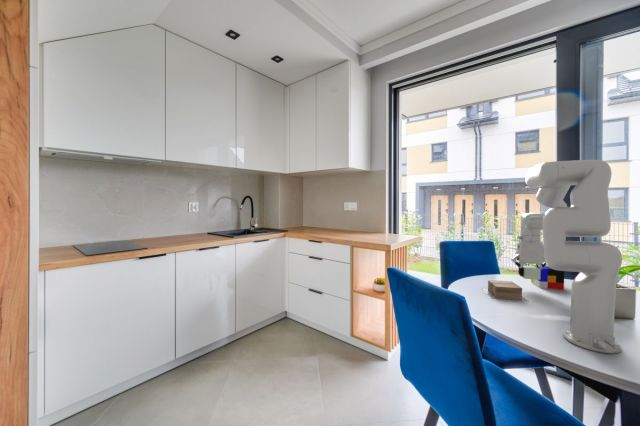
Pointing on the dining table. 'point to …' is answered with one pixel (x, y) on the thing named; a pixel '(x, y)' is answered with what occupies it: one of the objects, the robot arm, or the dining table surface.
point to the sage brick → (531, 272)
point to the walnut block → (504, 289)
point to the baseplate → (504, 298)
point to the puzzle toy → (550, 278)
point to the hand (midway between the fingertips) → (529, 276)
